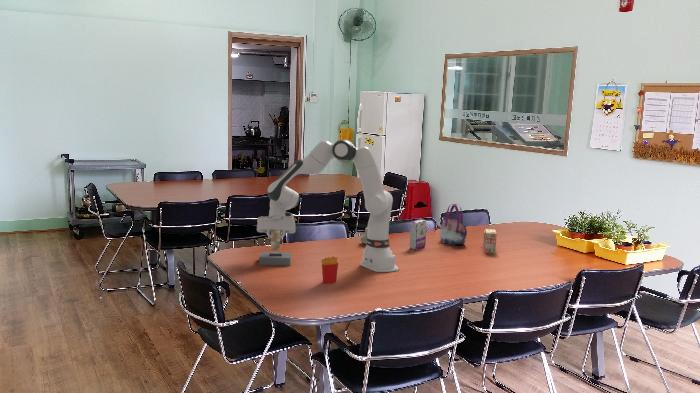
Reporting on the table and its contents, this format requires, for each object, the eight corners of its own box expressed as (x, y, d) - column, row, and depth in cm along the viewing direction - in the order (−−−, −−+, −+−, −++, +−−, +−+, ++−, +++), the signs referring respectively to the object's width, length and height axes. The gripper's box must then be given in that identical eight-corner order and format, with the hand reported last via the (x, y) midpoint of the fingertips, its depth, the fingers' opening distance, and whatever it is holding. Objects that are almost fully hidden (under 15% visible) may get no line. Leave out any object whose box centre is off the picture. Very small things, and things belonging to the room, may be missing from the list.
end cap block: (291, 259, 316) (291, 252, 315) (290, 265, 304) (290, 258, 303) (260, 259, 315) (261, 251, 314) (259, 265, 303) (259, 257, 302)
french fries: (334, 279, 282) (335, 255, 281) (338, 281, 279) (339, 257, 277) (319, 281, 278) (320, 257, 276) (323, 284, 274) (324, 259, 273)
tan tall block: (279, 248, 310) (280, 230, 309) (279, 250, 307) (280, 231, 305) (271, 248, 310) (271, 230, 308) (270, 250, 307) (271, 231, 305)
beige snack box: (482, 245, 370) (484, 225, 368) (493, 245, 369) (494, 226, 367) (484, 253, 349) (486, 232, 347) (495, 253, 348) (496, 233, 346)
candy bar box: (418, 245, 361) (419, 219, 359) (425, 246, 358) (427, 220, 356) (408, 248, 352) (410, 221, 350) (416, 249, 349) (417, 222, 347)
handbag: (434, 240, 376) (436, 202, 373) (445, 239, 382) (448, 201, 379) (459, 247, 359) (462, 207, 356) (470, 245, 365) (473, 206, 362)
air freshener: (358, 244, 359) (358, 228, 357) (364, 241, 366) (364, 225, 365) (374, 246, 354) (375, 230, 352) (380, 244, 361) (381, 228, 360)
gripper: (257, 212, 312) (255, 235, 304) (296, 214, 313) (295, 236, 305) (257, 219, 317) (255, 241, 309) (295, 220, 318) (294, 242, 310)
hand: (275, 238), depth 307 cm, fingers closed on tan tall block, 4 cm apart
